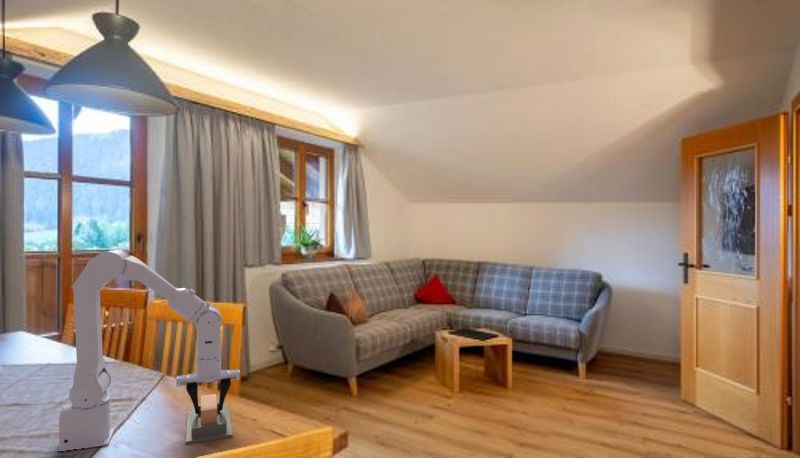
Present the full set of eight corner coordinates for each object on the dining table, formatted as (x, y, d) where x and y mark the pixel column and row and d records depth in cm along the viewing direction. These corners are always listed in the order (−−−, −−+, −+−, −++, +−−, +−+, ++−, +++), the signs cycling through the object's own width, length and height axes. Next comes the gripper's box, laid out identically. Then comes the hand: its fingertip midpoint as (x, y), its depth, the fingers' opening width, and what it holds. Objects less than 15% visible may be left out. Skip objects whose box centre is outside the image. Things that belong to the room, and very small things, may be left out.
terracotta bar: (200, 431, 112) (200, 411, 112) (201, 415, 121) (201, 395, 121) (217, 429, 113) (217, 408, 113) (216, 412, 122) (216, 393, 122)
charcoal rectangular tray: (185, 444, 107) (185, 433, 107) (187, 413, 123) (187, 403, 123) (232, 436, 111) (232, 425, 111) (228, 407, 127) (228, 398, 127)
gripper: (175, 364, 110) (175, 421, 110) (241, 357, 116) (240, 412, 116) (177, 356, 117) (177, 410, 117) (238, 350, 122) (238, 402, 123)
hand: (208, 410), depth 117 cm, fingers open, 5 cm apart
